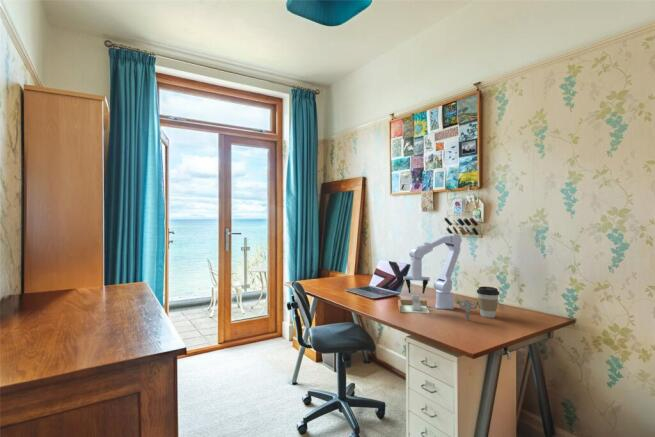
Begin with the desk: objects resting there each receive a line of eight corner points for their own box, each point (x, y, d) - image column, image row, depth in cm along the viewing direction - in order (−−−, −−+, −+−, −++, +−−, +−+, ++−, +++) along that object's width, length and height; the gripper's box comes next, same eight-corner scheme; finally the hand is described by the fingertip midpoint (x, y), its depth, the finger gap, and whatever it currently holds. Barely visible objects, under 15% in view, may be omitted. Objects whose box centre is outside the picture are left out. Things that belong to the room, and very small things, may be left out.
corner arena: (426, 306, 205) (426, 300, 205) (430, 313, 189) (430, 307, 189) (397, 304, 207) (397, 299, 207) (399, 312, 191) (399, 305, 191)
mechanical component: (478, 321, 175) (478, 302, 175) (457, 320, 177) (457, 301, 177) (477, 320, 178) (477, 300, 177) (456, 318, 180) (456, 299, 180)
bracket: (420, 310, 193) (420, 298, 193) (413, 310, 193) (413, 297, 193) (418, 306, 201) (418, 294, 201) (411, 306, 202) (411, 294, 202)
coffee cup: (476, 312, 193) (477, 285, 193) (499, 314, 188) (499, 287, 188) (475, 317, 183) (476, 289, 182) (499, 320, 178) (499, 291, 177)
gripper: (428, 268, 199) (428, 291, 199) (403, 268, 201) (402, 291, 201) (430, 270, 192) (430, 294, 192) (404, 269, 194) (403, 293, 194)
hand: (416, 293), depth 196 cm, fingers open, 7 cm apart
